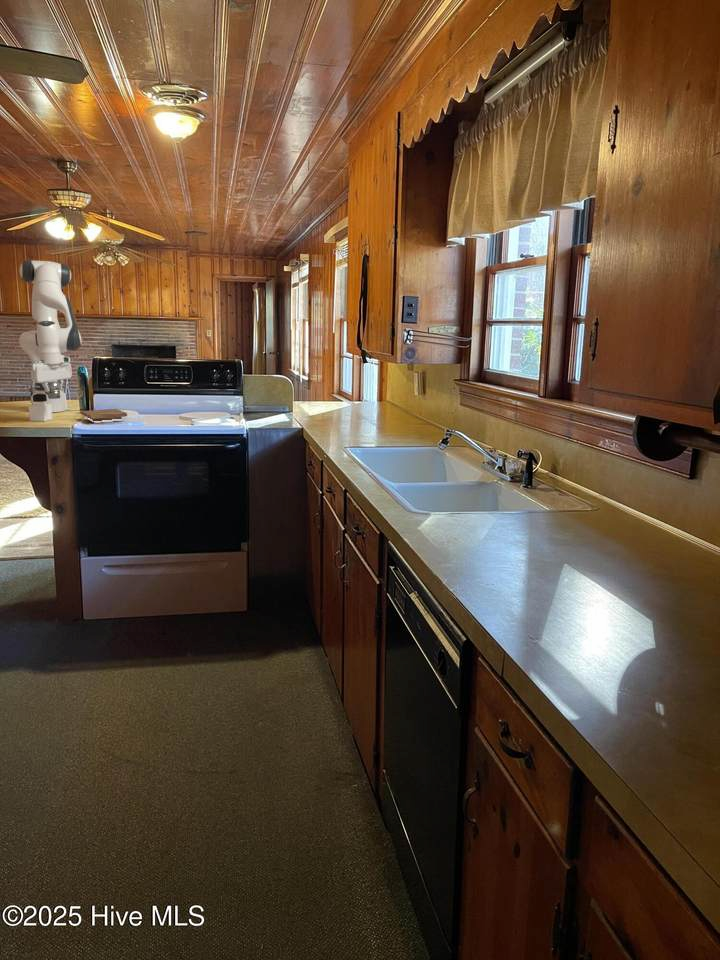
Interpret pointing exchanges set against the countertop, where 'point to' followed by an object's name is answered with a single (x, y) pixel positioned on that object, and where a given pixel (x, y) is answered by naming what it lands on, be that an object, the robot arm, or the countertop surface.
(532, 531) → the countertop surface
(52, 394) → the grey metal cylinder
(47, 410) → the medicine bottle
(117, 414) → the walnut stand
